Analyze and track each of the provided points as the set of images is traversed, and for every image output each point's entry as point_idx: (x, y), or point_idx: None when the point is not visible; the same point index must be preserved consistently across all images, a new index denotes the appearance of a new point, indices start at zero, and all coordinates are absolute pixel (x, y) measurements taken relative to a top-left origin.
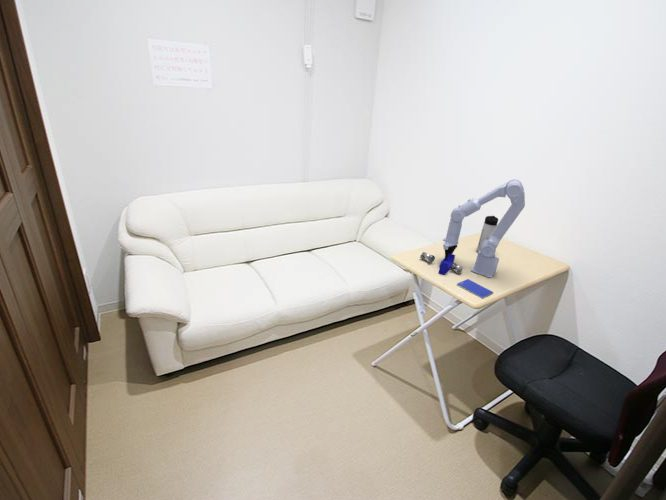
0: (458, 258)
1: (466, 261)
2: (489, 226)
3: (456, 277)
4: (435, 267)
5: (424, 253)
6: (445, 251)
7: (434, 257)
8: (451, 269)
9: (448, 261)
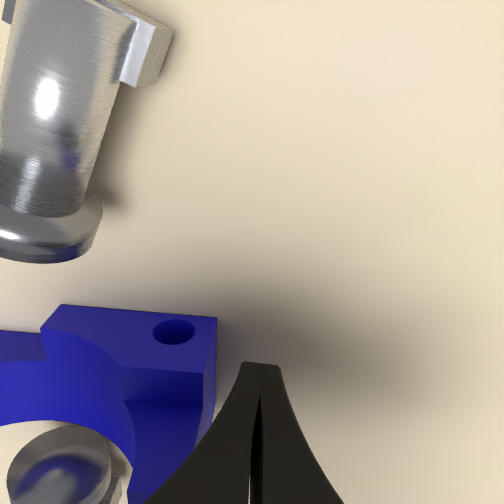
0: (486, 423)
1: (442, 488)
2: None
3: (3, 459)
4: (23, 264)
5: (23, 33)
6: (197, 451)
7: (62, 253)
8: (41, 439)
9: (124, 425)
